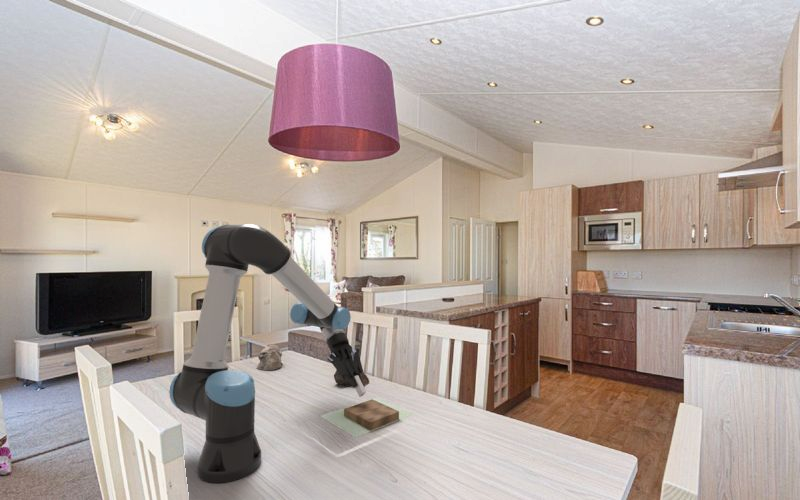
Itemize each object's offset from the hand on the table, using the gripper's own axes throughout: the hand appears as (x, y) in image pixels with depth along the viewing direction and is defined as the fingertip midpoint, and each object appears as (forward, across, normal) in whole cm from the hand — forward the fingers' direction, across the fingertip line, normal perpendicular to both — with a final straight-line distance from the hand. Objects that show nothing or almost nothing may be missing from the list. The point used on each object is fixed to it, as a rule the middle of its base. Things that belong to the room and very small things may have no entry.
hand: (362, 394), depth 132 cm
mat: (+7, 0, -3) cm, 7 cm away
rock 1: (-46, 0, -57) cm, 74 cm away
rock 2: (-13, -15, -24) cm, 31 cm away
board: (+2, 0, -5) cm, 5 cm away
